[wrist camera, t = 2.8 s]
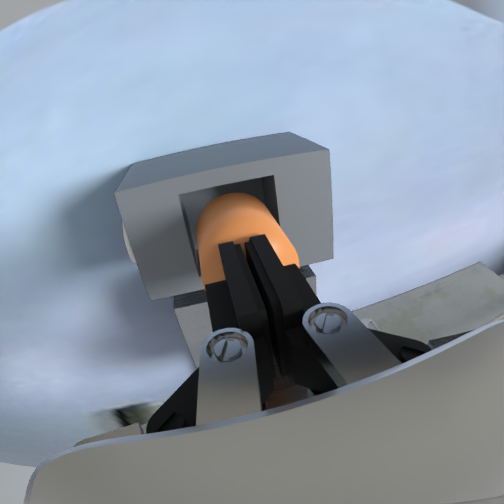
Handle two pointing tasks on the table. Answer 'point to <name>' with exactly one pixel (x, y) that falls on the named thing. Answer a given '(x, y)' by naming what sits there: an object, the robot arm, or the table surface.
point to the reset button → (237, 232)
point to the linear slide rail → (212, 186)
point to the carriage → (199, 327)
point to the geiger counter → (440, 306)
